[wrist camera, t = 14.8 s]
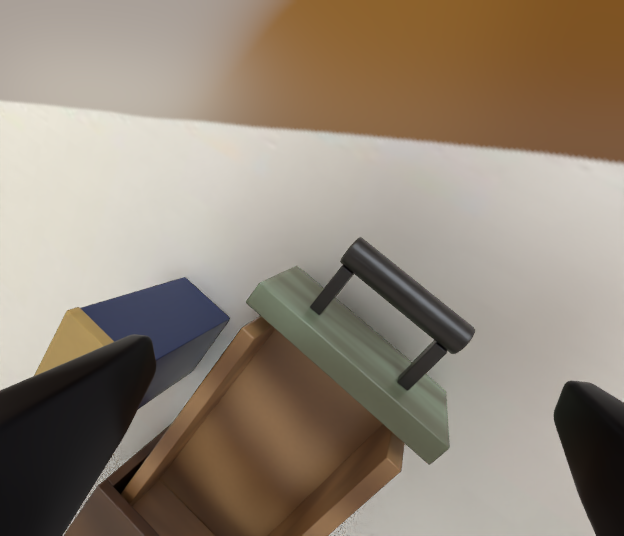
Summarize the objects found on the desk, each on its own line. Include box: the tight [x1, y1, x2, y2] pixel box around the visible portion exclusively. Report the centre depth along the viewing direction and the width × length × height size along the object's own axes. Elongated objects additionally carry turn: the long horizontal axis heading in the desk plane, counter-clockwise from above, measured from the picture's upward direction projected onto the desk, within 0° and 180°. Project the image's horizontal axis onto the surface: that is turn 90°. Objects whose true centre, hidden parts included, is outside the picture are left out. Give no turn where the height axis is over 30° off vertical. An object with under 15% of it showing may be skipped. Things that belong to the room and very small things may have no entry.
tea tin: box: [34, 277, 230, 409], centre depth 20 cm, size 4×5×8 cm
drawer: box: [121, 237, 475, 536], centre depth 19 cm, size 22×10×5 cm, turn 143°
